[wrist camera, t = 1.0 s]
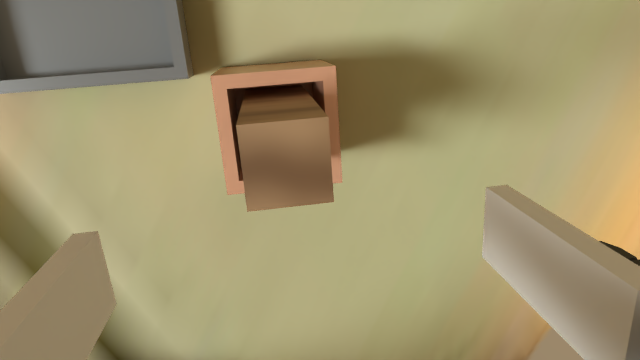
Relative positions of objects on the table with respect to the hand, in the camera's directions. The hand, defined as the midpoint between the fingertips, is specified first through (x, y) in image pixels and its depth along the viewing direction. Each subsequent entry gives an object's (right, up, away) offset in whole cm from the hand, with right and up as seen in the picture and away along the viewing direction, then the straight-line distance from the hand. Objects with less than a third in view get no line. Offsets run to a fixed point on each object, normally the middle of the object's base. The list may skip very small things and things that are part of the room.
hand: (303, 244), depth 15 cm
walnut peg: (-3, +8, +26) cm, 27 cm away
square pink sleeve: (-4, +9, +27) cm, 28 cm away
